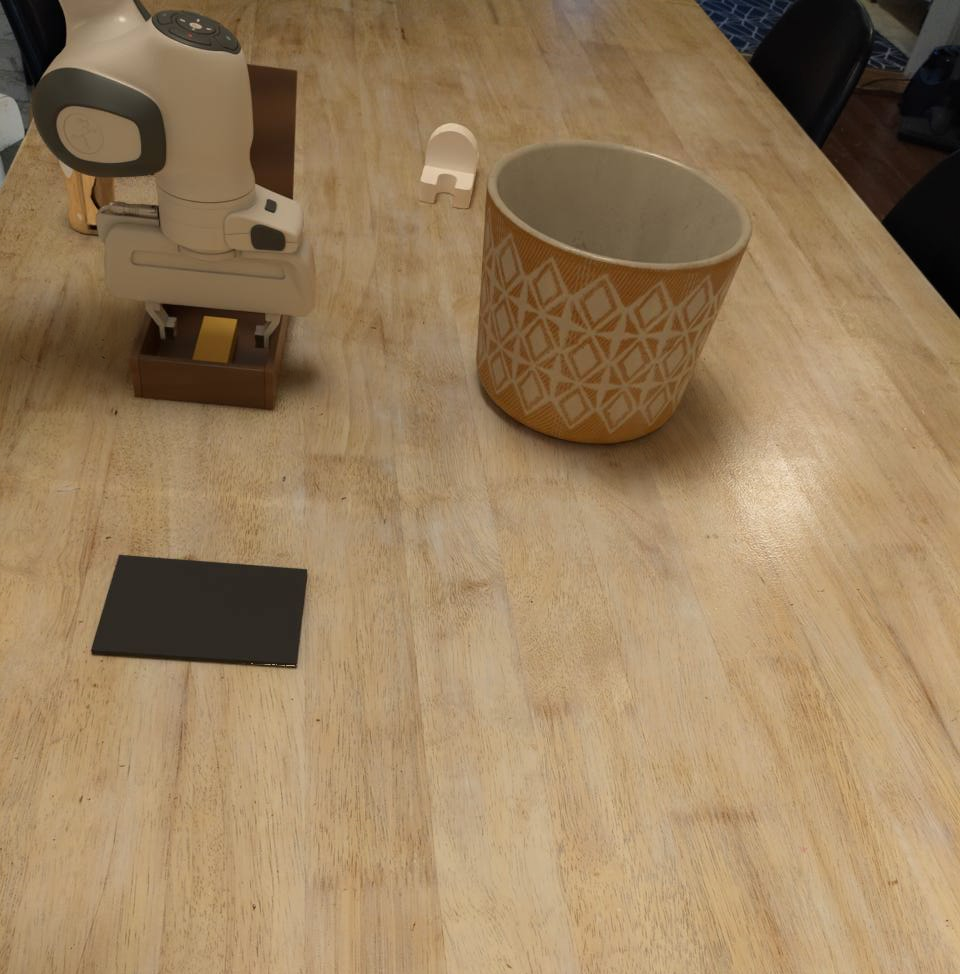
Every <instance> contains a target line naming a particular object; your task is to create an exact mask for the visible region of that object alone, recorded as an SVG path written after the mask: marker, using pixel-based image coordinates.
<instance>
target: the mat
mask: <svg viewBox="0 0 960 974" xmlns="http://www.w3.org/2000/svg"><path fill="white" fill-rule="evenodd" d="M307 579H308V569H307V568H297V567H287V566H286V567H283V566H271V565H259V564H245V563H234V562H233V563H232V562H222V561H221V562H220V561H207V560H193V559H180V558H168V557H156V556H141V555H130V554H128V555H127V554H126V555H125V554H118V557H117V559H116V562H115V566H114V570H113V574H112V577H111V580H110V584H109V586H108V591H107V593H106V598H105V600H104V604H103V608H102V611H101V614H100V618H99V622H98V624H97V628H96V631H95V635H94V638H93V641H92V645H91V648H90V653H91V655H101V656H102V655H103V656H116V657H117V656H118V657H131V658H132V657H133V658H148V659H161V660H163V659H165V660H179V661H194V662H208V663H221V664H223V663H224V664H226V663H227V664H237V663H246V664H245V665H252V664H251V663H253V664H271V665H272V664H275V665H276V664H277V665H285V666H286V665H295V666H296V667H297V665H296V664H298V657H297V656H299V648H298V647H300V640H299V639H301V638H300V637H301V629H302V621H303V614H304V606H305V596H306V586H307ZM225 662H226V663H225ZM248 663H249V664H248Z"/></svg>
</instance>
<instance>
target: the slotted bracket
mask: <svg viewBox="0 0 960 974" xmlns="http://www.w3.org/2000/svg"><path fill="white" fill-rule="evenodd" d="M475 137H476V136H475V135H474V134H473V133H472V132H471V131H470V129H469V128H467V127H465V126H464V125H461V124H458V123H453V122H452V123H451V122H450V123H445V124H441V125H440V126H438V127H437V128H435V130H434V131H433V132H432V133H431V135H430V137H429V139H428V141H427V142H428V143H427V146H426V150H425V157H424V166H423V169H422V172H421V177H420V180H419V181H420V182H419V191H418V200H419V201H421V202H422V203H429V204H435V200H436V197H437V195H438V194H440V193H445V194H450V195H452V196H453V201H452V208H457V209H465V210H466V209H469V208H470V205H471V200H472V195H473V190H474V185H475V182H476V176H477V171H478V165H479V163H478V162H479V155H480V152H479V146H478V142H477V139H476V138H475Z"/></svg>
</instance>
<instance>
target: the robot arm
mask: <svg viewBox="0 0 960 974" xmlns="http://www.w3.org/2000/svg"><path fill="white" fill-rule="evenodd" d="M58 2H59V4H60V7H61V9H62V11H63V15H64V18H65V26H66V38H65V46H64V48H63V49H62V50H61V52H60V53H58V55H56V56H55V58H54V59H53V60H52V62H50V64H49V66H48V67H47V68H46V70H45V71H44V72H43V74H42V76H41V78H40V79H39V81H38V82H37V84H36V86H35V88H34V90H33V94H32V98H31V110H32V111H31V112H32V117H33V121H34V125H35V128H36V130H37V132H38V134H39V136H40V139H41V140H42V141H43V144H45V146H46V147H47V148H48V150H49V152H51V153H52V154H53V155H54V157H56V159H57V158H58V159H59V160H60V161H61V162H63V163H64V164H65V165H67V166H68V167H70V168H71V169H73V170H75V171H77V172H80V173H82V174H85V175H88V176H93V177H115V178H134V177H135V178H137V177H145V176H146V177H147V176H152V175H154V177H155V185H156V197H157V204H147V203H128V202H126V201H120V200H116V201H113V202H110V205H106V206H103V207H102V208H100V209H99V210H98V212H97V214H96V224H97V231H98V237H99V239H100V241H101V242H102V244H103V245H104V249H103V251H104V254H103V255H104V256H103V273H104V275H103V276H104V285H105V290H106V291H107V292H108V293H109V294H110V295H111V296H112V297H113V298H114V299H116V300H122V301H133V302H141V303H142V302H143V303H144V307H145V312H146V311H147V312H148V313H149V315H150V316H151V317H152V318H153V320H154V321H155V322H156V324H157V325H159V328H160V337H161V339H162V340H174V341H176V337H177V335H178V327H177V318H174V317H169V316H168V315H167V313H166V312H165V310H164V309H163V307H162V303H163V304H174V305H184V306H195V307H205V308H216V309H226V310H237V311H247V312H258V313H265V320H266V321H267V322H266V324H265V325H264V326H259V325H257V326H256V331H255V348H263V349H269V346H270V340H271V334H272V333H273V331H274V330H275V328H276V327H277V325H278V324H279V322H280V317H281V315H290V316H289V317H300V318H306V317H308V316H309V315H310V314H312V312H313V311H314V310H315V309H316V304H317V294H318V293H317V292H318V283H317V282H318V281H317V270H316V269H317V268H316V262H315V257H314V256H315V255H314V250H313V246H312V243H311V241H310V239H309V237H308V236H307V234H306V233H305V232H304V226H305V216H304V215H305V214H304V208H303V206H302V204H300V203H299V202H298V201H296V200H294V199H293V200H291V199H289V198H286V197H284V196H281V195H279V194H277V193H274V192H272V191H270V190H267V189H265V188H263V187H261V186H259V185H257V184H255V177H254V172H253V169H252V167H251V163H250V148H251V144H252V140H253V112H252V99H251V89H250V81H249V74H248V68H247V64H248V63H247V59H246V56H245V53H244V50H243V47H242V45H241V43H240V41H239V40H238V38H237V37H236V36H235V34H234V33H233V32H232V31H231V30H230V29H229V28H227V27H225V26H224V25H223V24H221V22H219V21H217V20H216V19H213V18H212V17H209V16H207V15H204V14H201V13H199V12H194V11H190V10H185V9H179V10H178V9H176V10H175V9H166V10H161V11H158V12H157V11H156V13H154V14H153V15H151V13H150V12H149V10H147V8H146V7H145V5H144V4H143V3H142V2H141V0H58ZM106 210H110V211H106Z"/></svg>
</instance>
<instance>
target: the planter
mask: <svg viewBox="0 0 960 974" xmlns="http://www.w3.org/2000/svg"><path fill="white" fill-rule="evenodd" d="M485 191H486V192H485V193H486V194H485V206H484V207H485V209H484V222H483V223H484V224H483V225H484V226H483V241H482V242H483V243H482V244H483V245H482V258H481V259H482V260H481V275H480V291H479V293H480V294H479V308H478V309H479V310H478V326H477V343H476V368H477V374H478V378H479V380H480V383H481V384H482V386H483V388H484V390H485V391H486V393H487V395H488V396H489V397H490V399H491V400H492V401H493V402H494V404H496V405H497V406H498V407H499V408H500V409H501V410H502V411H503V412H505V414H507V415H508V416H510V417H511V418H512V419H514V420H516V421H517V422H518V423H521V425H524V426H525V427H527V428H529V429H532V430H534V431H536V432H538V433H541V434H544V435H547V436H550V437H553V438H556V439H560V440H563V441H569V442H575V443H583V444H596V445H597V444H598V445H599V444H602V445H603V444H615V443H623V442H628V441H632V440H635V439H638V438H641V437H644V436H646V435H648V434H650V433H652V432H654V431H656V430H657V429H659V428H660V427H662V426H663V425H664V424H665V423H667V421H669V419H670V418H672V417H673V415H674V414H675V412H676V410H677V409H678V407H679V405H680V403H681V401H682V399H683V396H684V394H685V391H686V389H687V387H688V384H689V382H690V380H691V377H692V375H693V373H694V371H695V368H696V366H697V363H698V361H699V359H700V357H701V354H702V353H703V349H704V347H705V345H706V344H707V343H706V342H707V340H708V338H709V336H710V334H711V332H712V329H713V326H714V324H715V323H716V320H717V317H718V315H719V312H720V310H721V308H722V305H723V303H724V301H725V299H726V296H727V294H728V292H729V290H730V287H731V285H732V282H733V281H734V278H735V275H736V273H737V271H738V269H739V266H740V264H741V262H742V259H743V257H744V255H745V252H746V250H747V249H748V245H749V243H750V241H751V238H752V236H753V229H754V228H753V221H752V217H751V215H750V212H749V211H748V208H747V207H746V205H745V204H744V202H743V201H742V200H741V199H740V198H739V196H737V195H736V193H734V191H732V190H731V189H730V188H728V186H726V185H725V184H723V183H722V182H721V181H720V180H719V179H716V177H713V176H712V175H710V174H709V173H706V171H703V170H701V169H699V168H698V167H695V166H694V165H691V164H690V163H687V162H685V161H682V160H680V159H677V158H675V157H672V156H669V155H666V154H664V153H661V152H657V151H653V150H650V149H647V148H643V147H640V146H635V145H630V144H626V143H625V144H624V143H620V142H619V143H618V142H613V141H606V140H598V139H597V140H596V139H585V138H584V139H582V138H581V139H580V138H579V139H578V138H577V139H576V138H570V139H569V138H565V139H551V140H544V141H538V142H533V143H529V144H526V145H522V146H518V147H516V148H514V149H512V150H510V151H508V152H506V153H504V154H503V155H502V156H500V157H499V158H498V159H497V160H496V161H495V162H494V163H493V164H492V165H491V167H490V168H489V171H488V174H487V178H486V190H485Z"/></svg>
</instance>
